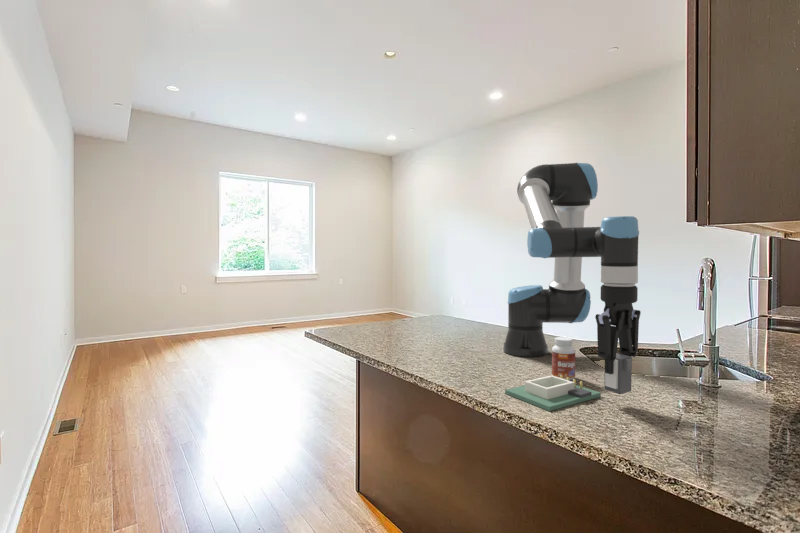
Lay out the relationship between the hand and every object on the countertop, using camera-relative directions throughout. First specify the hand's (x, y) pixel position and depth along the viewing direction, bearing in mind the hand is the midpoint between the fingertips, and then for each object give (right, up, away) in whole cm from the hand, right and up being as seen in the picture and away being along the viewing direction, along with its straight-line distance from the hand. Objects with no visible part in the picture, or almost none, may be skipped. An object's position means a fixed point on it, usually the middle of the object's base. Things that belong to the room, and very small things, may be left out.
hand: (617, 384), depth 99 cm
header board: (-13, -5, +7) cm, 15 cm away
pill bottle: (-4, -4, +22) cm, 23 cm away
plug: (0, -1, 0) cm, 1 cm away
